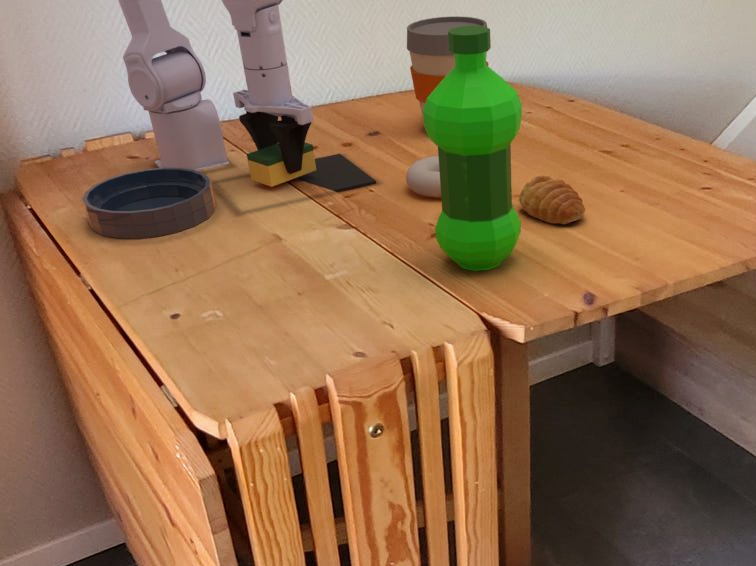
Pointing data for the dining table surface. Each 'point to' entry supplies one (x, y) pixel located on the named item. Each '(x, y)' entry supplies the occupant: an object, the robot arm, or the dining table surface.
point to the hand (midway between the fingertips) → (282, 167)
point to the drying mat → (337, 174)
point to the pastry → (551, 200)
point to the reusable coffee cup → (433, 52)
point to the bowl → (149, 203)
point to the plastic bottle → (474, 154)
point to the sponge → (277, 165)
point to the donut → (425, 177)
